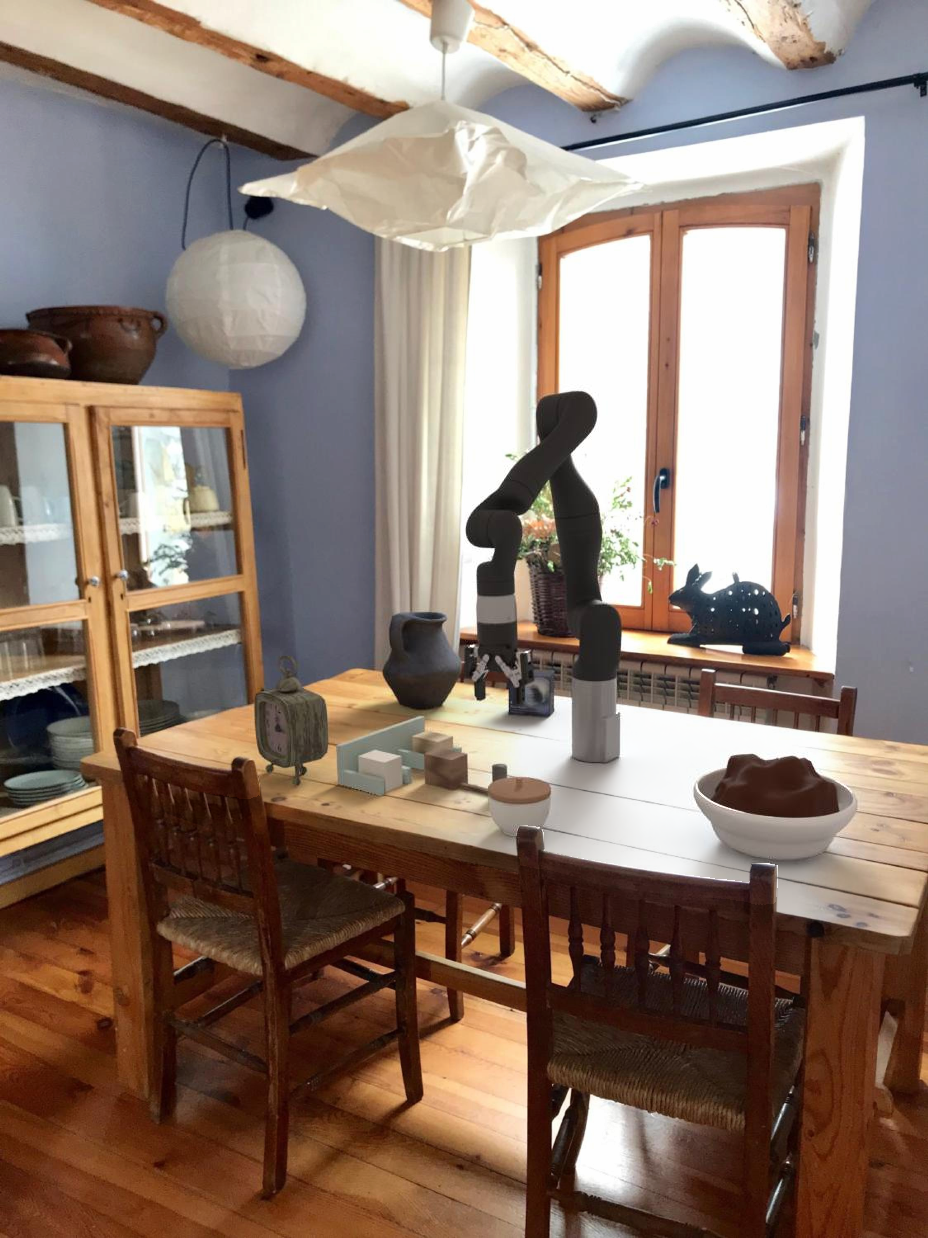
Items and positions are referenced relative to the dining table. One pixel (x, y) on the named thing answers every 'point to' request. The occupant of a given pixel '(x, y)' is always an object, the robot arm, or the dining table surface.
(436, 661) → the pitcher
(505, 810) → the lidded jar
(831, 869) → the dining table surface
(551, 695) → the small box
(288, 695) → the tabletop clock
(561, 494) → the robot arm
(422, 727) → the lane shelf
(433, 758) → the tow block
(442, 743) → the oak block
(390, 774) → the cream block
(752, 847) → the bowl of brown mass
